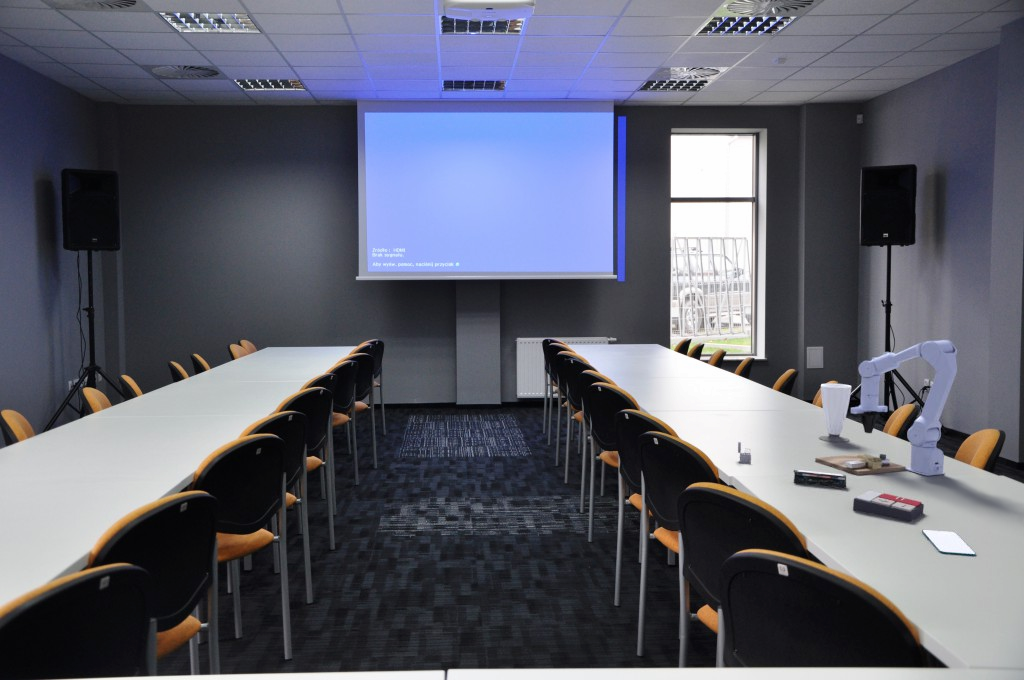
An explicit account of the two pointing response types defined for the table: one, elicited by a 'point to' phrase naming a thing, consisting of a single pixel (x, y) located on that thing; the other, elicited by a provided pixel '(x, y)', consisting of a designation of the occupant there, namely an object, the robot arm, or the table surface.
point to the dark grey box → (888, 506)
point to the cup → (835, 409)
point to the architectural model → (744, 455)
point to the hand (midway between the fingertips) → (868, 432)
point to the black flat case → (820, 478)
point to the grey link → (864, 463)
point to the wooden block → (871, 461)
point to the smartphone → (948, 542)
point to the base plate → (840, 464)
